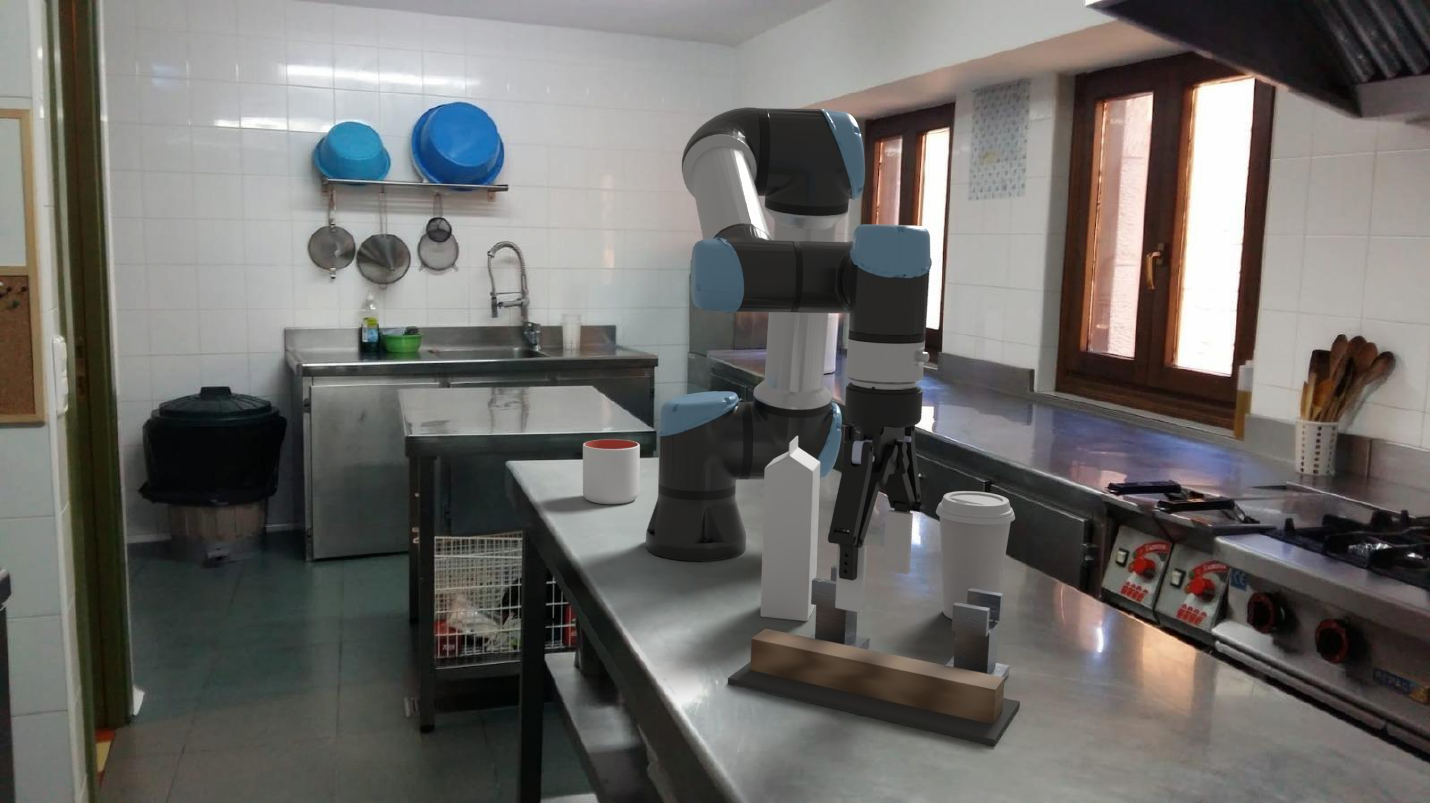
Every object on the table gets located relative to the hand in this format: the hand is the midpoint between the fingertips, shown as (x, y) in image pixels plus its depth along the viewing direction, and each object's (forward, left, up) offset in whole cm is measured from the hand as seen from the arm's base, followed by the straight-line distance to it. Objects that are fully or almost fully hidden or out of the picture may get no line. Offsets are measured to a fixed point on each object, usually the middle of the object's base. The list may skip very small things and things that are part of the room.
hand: (874, 589), depth 112 cm
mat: (0, 0, -11) cm, 11 cm away
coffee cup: (+2, +30, -11) cm, 32 cm away
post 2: (+8, +10, -11) cm, 17 cm away
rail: (0, 0, -11) cm, 11 cm away
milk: (-18, +19, -11) cm, 28 cm away
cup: (-70, +57, -11) cm, 91 cm away
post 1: (-8, +10, -11) cm, 17 cm away
